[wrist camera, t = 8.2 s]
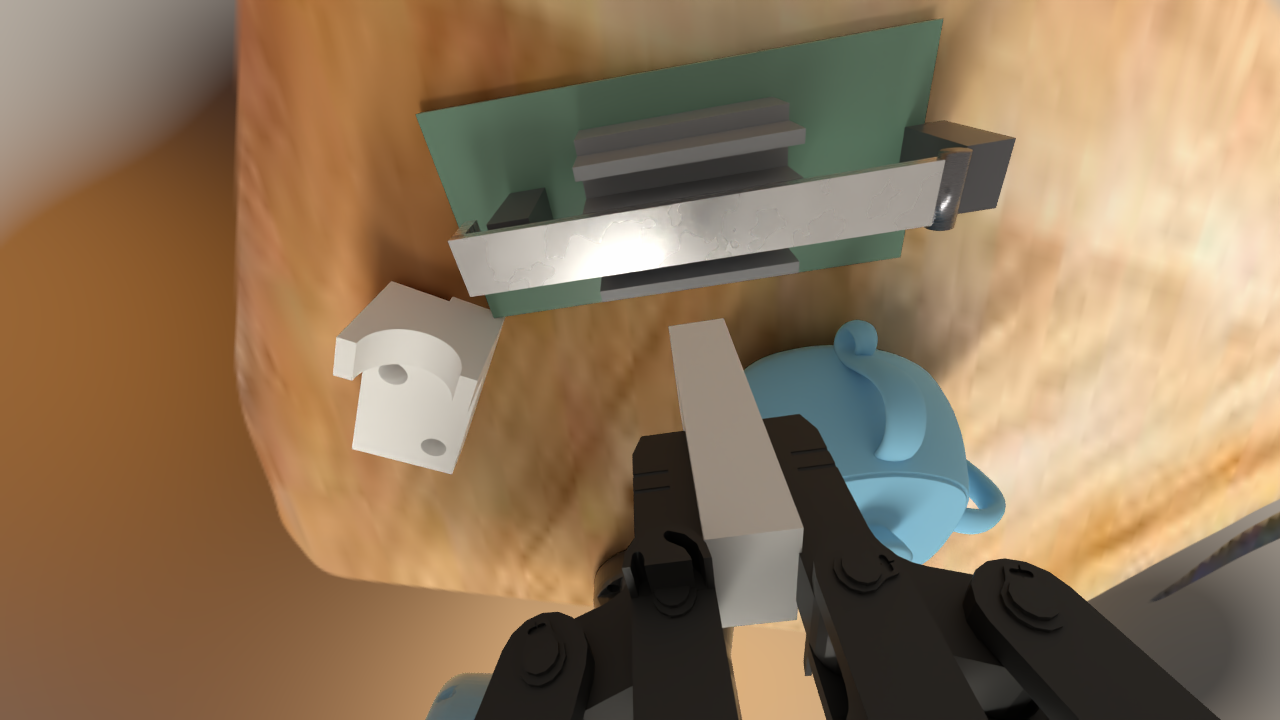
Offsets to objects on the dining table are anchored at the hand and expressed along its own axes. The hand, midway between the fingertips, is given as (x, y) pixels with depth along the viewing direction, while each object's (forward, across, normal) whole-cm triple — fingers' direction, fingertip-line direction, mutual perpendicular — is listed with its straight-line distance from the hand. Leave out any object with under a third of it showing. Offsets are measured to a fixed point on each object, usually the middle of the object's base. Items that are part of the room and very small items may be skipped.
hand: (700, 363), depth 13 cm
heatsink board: (+17, -1, -1) cm, 17 cm away
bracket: (+18, +18, +9) cm, 27 cm away
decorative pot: (+17, -9, +17) cm, 26 cm away
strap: (+12, -2, -1) cm, 12 cm away
